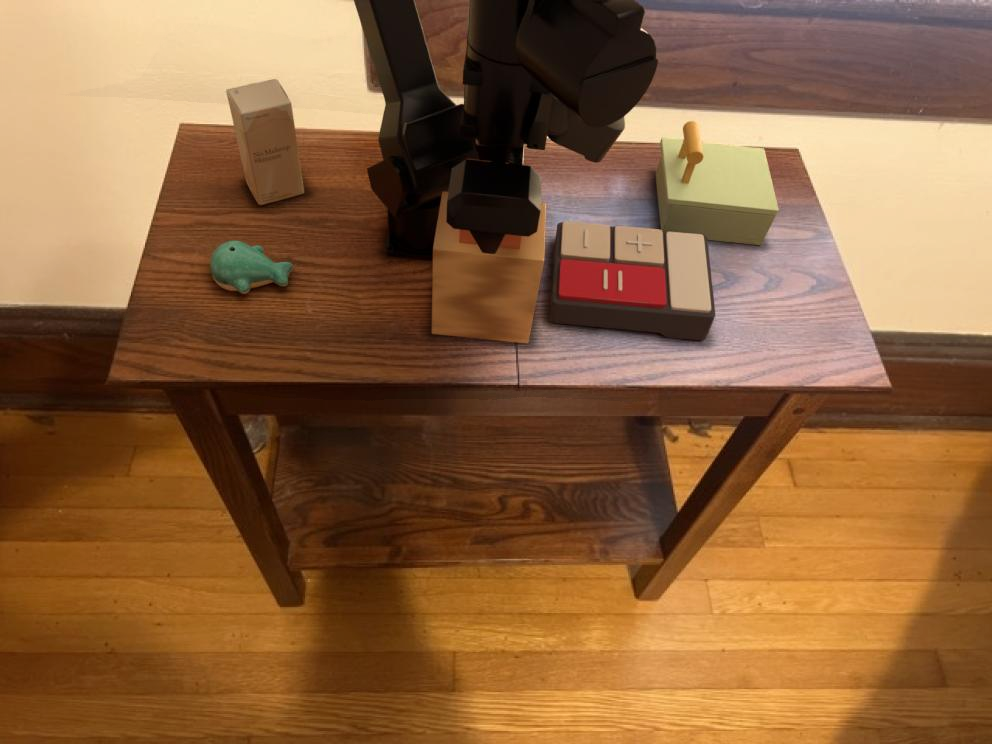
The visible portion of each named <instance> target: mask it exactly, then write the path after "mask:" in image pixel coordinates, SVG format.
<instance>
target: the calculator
mask: <svg viewBox="0 0 992 744" xmlns="http://www.w3.org/2000/svg"><path fill="white" fill-rule="evenodd" d="M555 231H556V232H555V240H554V249H553V263H552V264H553V265H552V266H553V267H552V279H551V280H552V281H551V297H550V310H549V311H550V312H549V320H550V322H551V323H554V324H564V325H573V326H584V327H593V328H606V329H615V330H616V329H617V330H627V331H628V330H629V331H639V332H649V333H659V334H661V335H662V336H664V337H666V338H670V339H680V340H681V339H682V340H691V341H692V340H693V341H705V340H706V338H707V337H708V334H709V332H710V329H711V327H712V325H713V322H714V320H715V318H716V308H715V297H714V290H713V289H714V288H713V280H712V271H711V260H710V250H709V242H708V241H709V240H707V237H706V236H705V235H703V234H693V233H682V232H670V231H662V230H661V229H658V228H647V227H638V226H637V227H636V226H635V227H634V226H624V225H616V226H611V225H608V224H604V223H603V224H602V223H591V222H578V221H567V220H565V221H560V222H558V223H557V225H556V230H555Z"/></svg>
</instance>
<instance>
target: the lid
mask: <svg viewBox="0 0 992 744" xmlns="http://www.w3.org/2000/svg"><path fill="white" fill-rule="evenodd" d="M698 123H699V122H697V121H695V120H689V121H687V122H685V123H684V124H683V126H682V135H683V139H679V138H671V137H670V138H669V137H661V139H660V142H659V144H660V145H659V146H660V153H661V155H662V165H663V174H664V184H665V193H666V203H667V204H675V205H685V206H694V207H703V208H713V209H722V210H731V211H740V212H750V213H759V214H768V215H776V216H777V215H778V213H779V212H780V211H779V206H778V201H777V197H776V193H775V189H774V184H773V181H772V176H771V171H770V168H769V167H770V166H769V163H768V159H767V158H768V157H767V154H766V151H765V148H761V147H751V146H743V145H733V144H726V143H725V144H724V143H717V142H707V141H702V139H701V131H700V126H699V124H698Z"/></svg>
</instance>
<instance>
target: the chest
mask: <svg viewBox="0 0 992 744" xmlns="http://www.w3.org/2000/svg"><path fill="white" fill-rule="evenodd" d="M655 183H656V193H657V195H656V196H657V203H658V204H657V205H658V214H659V215H658V216H659V225H660V230H662V231H670V232H682V233H693V234H703V235H705V236H706V237H707V241H717V242H727V243H734V244H745V245H755V246H762V245H763V242H764V240H765V238H766V236H767V234H768V232H769V231H770V228H771V226H772V225H773V223H774V221H775V219H776V217H777V215H768V214H759V213H750V212H740V211H731V210H722V209H713V208H703V207H694V206H685V205H675V204H667V203H666V193H665V184H664V174H663V165H662V155H661V156H660V159H659V161H658V164H657V168H656V171H655Z"/></svg>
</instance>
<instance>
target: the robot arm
mask: <svg viewBox="0 0 992 744" xmlns="http://www.w3.org/2000/svg"><path fill="white" fill-rule="evenodd" d="M353 2H354V6H355V9H356V13H357V16H358V18H359V21H360V25H361V29H362V31H363V35H364V37H365V38H364V39H365V42H366V44H367V49H368V51H369V54H370V57H371V60H372V64H373V67H374V71H375V73H376V76H377V79H378V83H379V86H380V88H381V93H382V96H383V99H384V109H383V115H382V120H381V124H380V128H379V133H378V145H379V148H380V152H381V156H382V160H381V161H379V162H376V163H374V164H373V165H370V166H368V167H366V171H367V176H368V181H369V185H370V189H371V190H372V192H373V193H374V194H375V195H376V197H377V198H378V199H379V200H380V201H381V203H382V204H383V205H384V206H385V208H386V212H387V231H388V233H387V238H386V244H385V254H386V255H387V256H395V257H402V258H403V257H404V258H413V259H415V258H416V259H422V260H423V259H425V260H432V261H433V246H434V240H435V234H436V227H437V221H438V215H439V209H440V203H441V197H442V192H448V198H447V217H446V222H447V223H448V224H449V225H450V226H451V227H452V228H453V229H460V230H469V231H470V233H471V234H472V236H473V238H474V240H475V241H476V243H477V245H478V246H479V248H480V250H481V251H482V252H483V253H487V254H495V253H496V252H497V250H498V248H499V246H500V244H501V242H502V240H503V238H504V236H505V234H507V235H517V236H526V237H529V236H531V235H532V234H534V233H536V232H537V229H538V224H539V218H540V212H541V202H542V189H543V177H542V176H541V175H540V174H539V173H538V171H536V170H535V169H534V168H533V167H532V166H531V165H529V166H525V165H526V164H524V157H525V146H526V148H527V149H529V150H537V151H545V150H546V145H547V139H549V140H550V141H551V142H553V143H554V144H556V145H558V146H561V147H563V148H565V149H567V150H569V151H571V152H574V153H577V154H578V155H581V156H582V157H584V159H585V160H586V161H589V162H591V163H595V164H596V163H597V164H598V163H601V162H602V161H603V159H604V158H605V157H606V155H607V154H608V153H609V151H610V150H611V148H612V147H613V146H614V144H615V143H616V141H617V140H618V139H619V137H620V136H621V135H622V133H623V132H624V130H625V128H626V117H625V116H626V115H628V114H629V113H630V112H631V111H632V110H633V109H634V108H635V107H636V106H637V105H638V104H639V102H640V101H641V100H642V98H643V97H644V95H645V94H646V93H647V91H648V90H649V87H650V86H651V84H652V82H653V80H654V77H655V75H656V72H657V68H658V65H659V59H658V58H657V46H656V42H655V39H654V38H653V37H652V35H651V34H650V33H648V32H647V31H646V30H645V29H643V28H642V25H643V21H644V18H645V14H646V11H645V7H644V6H643V5H642V4H640V3H639V2H638V1H637V0H468V9H467V12H468V13H467V14H468V15H467V31H466V48H465V49H466V50H465V58H464V62H463V69H462V85H464V87H463V91H464V92H463V103H459V104H456V103H455V102H454V100H452V99H451V98H450V97H449V95H448V94H446V92H444V91H443V90H442V89H441V87H440V84H439V82H438V81H439V80H438V78H437V74H436V70H435V67H434V64H433V60H432V56H431V52H430V49H429V46H428V42H427V39H426V35H425V32H424V28H423V25H422V21H421V17H420V14H419V10H418V8H417V3H416V0H353ZM470 159H475V160H470ZM479 160H484V161H479ZM488 161H491V162H488ZM507 163H509V164H507Z"/></svg>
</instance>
